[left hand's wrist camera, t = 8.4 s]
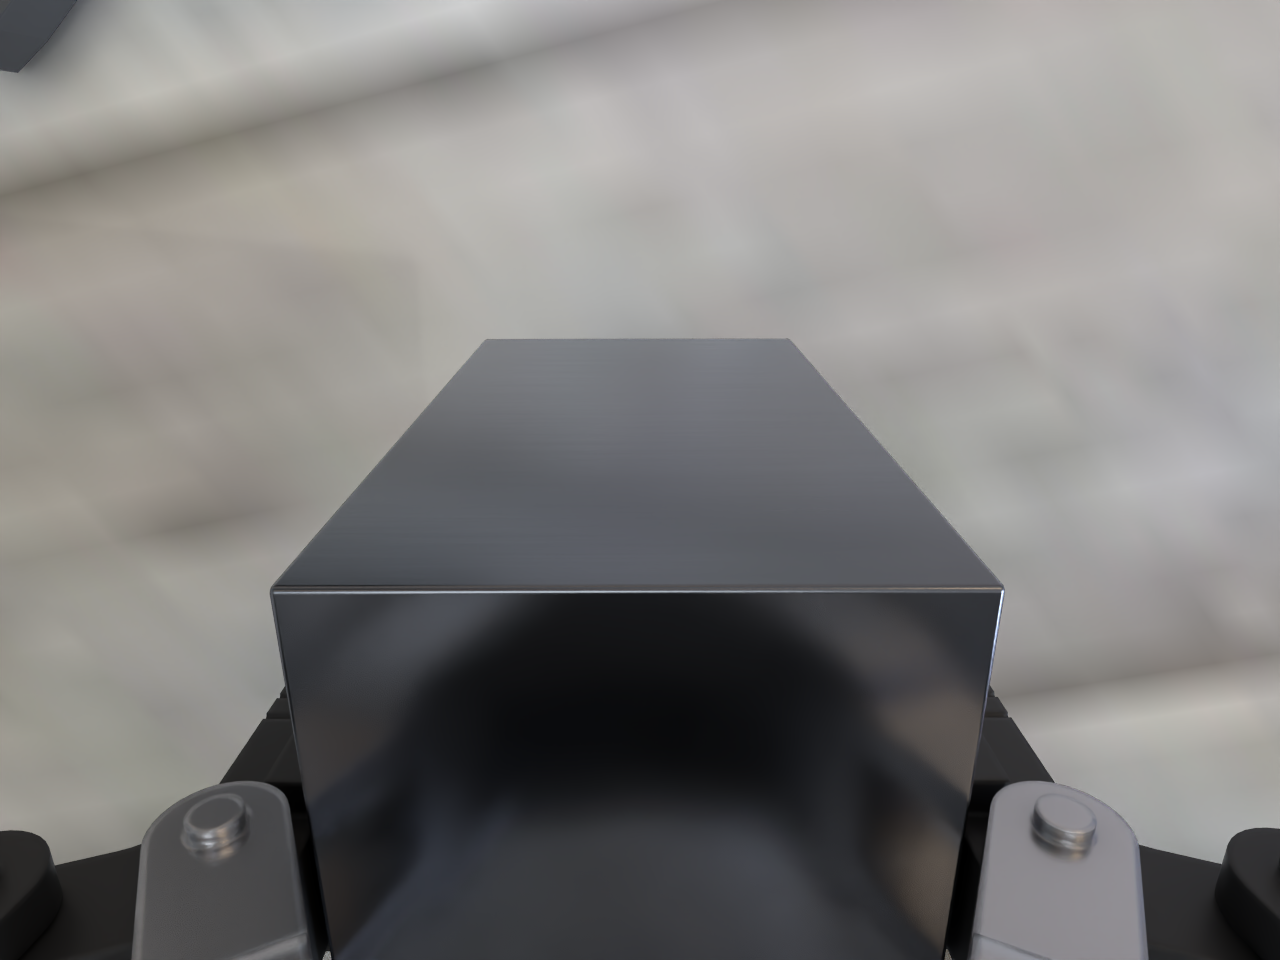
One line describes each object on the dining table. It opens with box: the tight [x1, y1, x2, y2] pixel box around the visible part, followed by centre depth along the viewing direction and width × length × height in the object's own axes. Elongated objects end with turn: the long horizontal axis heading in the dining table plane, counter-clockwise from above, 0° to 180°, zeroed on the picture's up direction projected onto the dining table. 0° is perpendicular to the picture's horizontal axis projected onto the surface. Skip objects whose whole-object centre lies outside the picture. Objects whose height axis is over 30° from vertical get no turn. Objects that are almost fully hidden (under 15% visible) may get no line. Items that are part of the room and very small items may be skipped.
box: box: [270, 339, 1005, 960], centre depth 15 cm, size 20×6×11 cm, turn 0°
